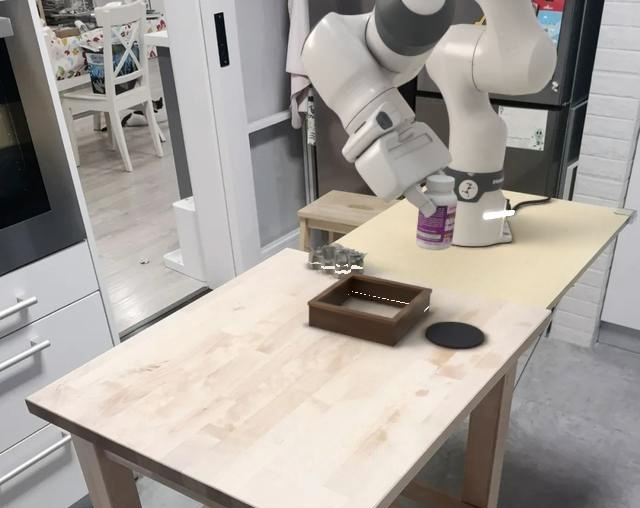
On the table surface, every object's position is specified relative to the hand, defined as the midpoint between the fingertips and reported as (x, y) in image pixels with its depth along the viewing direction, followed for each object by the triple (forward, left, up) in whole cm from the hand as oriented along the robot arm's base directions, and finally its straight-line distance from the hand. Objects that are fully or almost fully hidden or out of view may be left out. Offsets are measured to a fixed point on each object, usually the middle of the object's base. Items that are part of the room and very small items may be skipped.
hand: (441, 207), depth 102 cm
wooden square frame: (-1, -10, -19) cm, 22 cm away
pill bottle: (0, -1, -6) cm, 6 cm away
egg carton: (-21, -22, -19) cm, 36 cm away
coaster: (0, +4, -19) cm, 20 cm away
